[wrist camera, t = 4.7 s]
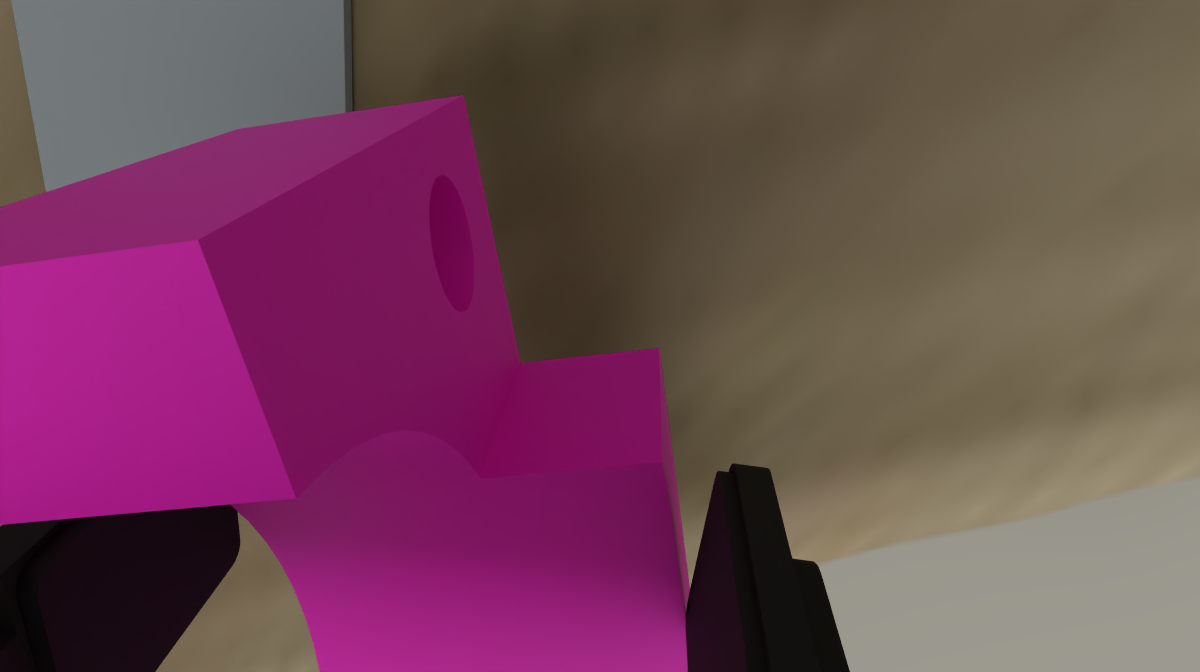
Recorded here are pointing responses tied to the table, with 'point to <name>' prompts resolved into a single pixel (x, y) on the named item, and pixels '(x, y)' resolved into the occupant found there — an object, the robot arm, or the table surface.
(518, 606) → the toy block
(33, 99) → the mat
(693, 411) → the table surface
